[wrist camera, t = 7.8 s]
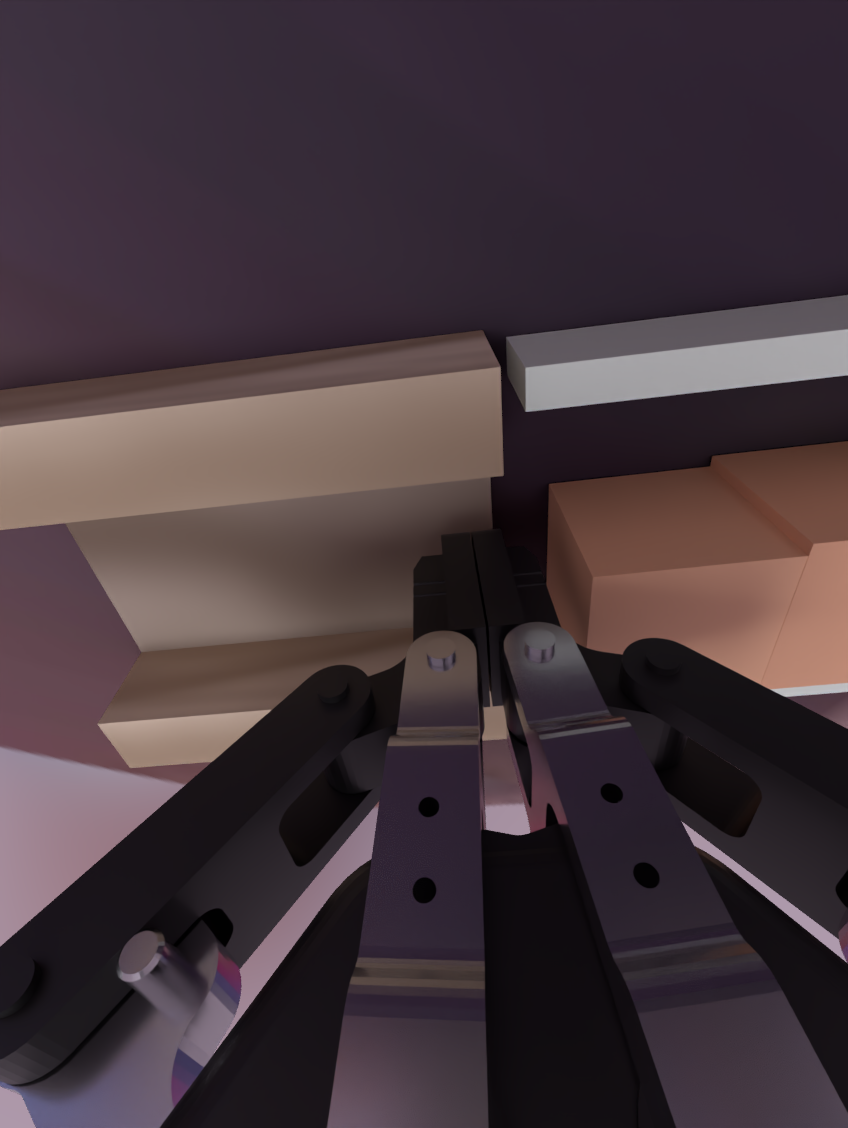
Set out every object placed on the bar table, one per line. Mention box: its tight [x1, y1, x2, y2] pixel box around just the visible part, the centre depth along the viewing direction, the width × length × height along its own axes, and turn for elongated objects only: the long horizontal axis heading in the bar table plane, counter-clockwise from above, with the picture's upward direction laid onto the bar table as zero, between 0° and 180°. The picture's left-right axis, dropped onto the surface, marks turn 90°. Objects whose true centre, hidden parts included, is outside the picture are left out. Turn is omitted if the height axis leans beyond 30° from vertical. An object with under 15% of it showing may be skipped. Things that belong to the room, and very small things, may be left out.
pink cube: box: [546, 466, 808, 684], centre depth 13 cm, size 4×4×4 cm
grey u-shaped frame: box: [506, 295, 848, 697], centre depth 13 cm, size 10×10×2 cm
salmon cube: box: [710, 441, 848, 689], centre depth 12 cm, size 4×4×4 cm
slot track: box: [0, 330, 507, 768], centre depth 13 cm, size 10×11×3 cm
